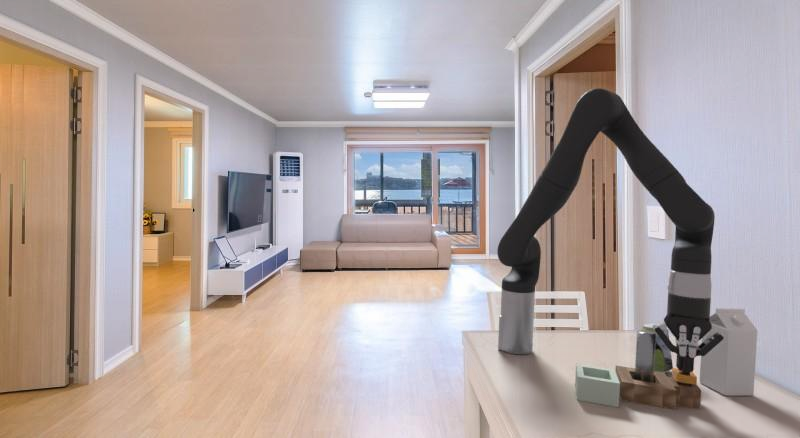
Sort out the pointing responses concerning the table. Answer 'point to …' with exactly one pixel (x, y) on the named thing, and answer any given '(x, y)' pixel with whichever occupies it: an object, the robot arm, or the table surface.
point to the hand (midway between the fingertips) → (684, 372)
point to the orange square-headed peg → (684, 377)
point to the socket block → (657, 390)
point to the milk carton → (731, 354)
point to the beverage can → (660, 351)
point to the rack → (597, 385)
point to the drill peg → (645, 356)
